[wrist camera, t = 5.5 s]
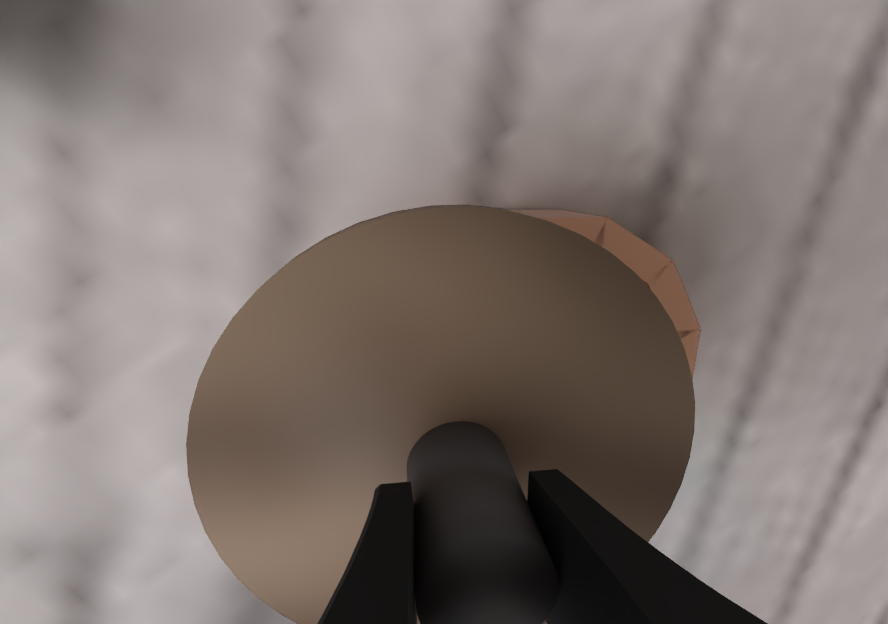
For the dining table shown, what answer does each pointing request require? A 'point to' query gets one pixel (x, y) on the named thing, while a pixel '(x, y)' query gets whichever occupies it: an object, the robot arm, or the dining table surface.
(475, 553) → the lid
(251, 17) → the dining table surface
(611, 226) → the bowl
